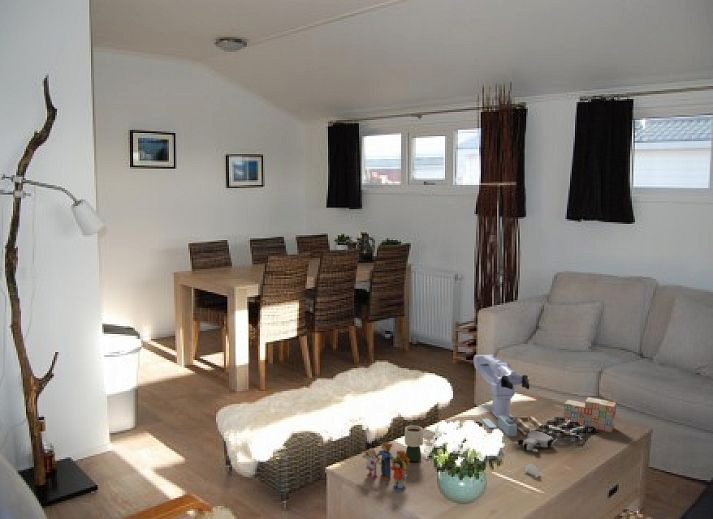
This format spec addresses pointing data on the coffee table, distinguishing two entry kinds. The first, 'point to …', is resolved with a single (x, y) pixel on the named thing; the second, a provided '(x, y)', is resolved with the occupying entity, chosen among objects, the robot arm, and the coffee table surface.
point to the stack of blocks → (592, 413)
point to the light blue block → (507, 425)
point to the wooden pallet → (526, 424)
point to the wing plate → (488, 423)
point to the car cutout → (532, 470)
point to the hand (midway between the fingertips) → (520, 387)
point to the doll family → (388, 465)
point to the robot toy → (536, 441)
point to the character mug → (413, 442)
